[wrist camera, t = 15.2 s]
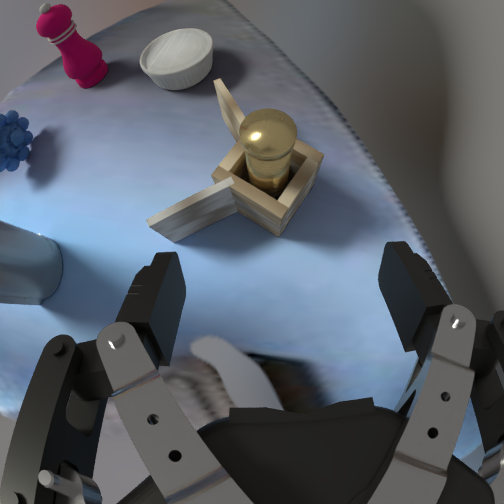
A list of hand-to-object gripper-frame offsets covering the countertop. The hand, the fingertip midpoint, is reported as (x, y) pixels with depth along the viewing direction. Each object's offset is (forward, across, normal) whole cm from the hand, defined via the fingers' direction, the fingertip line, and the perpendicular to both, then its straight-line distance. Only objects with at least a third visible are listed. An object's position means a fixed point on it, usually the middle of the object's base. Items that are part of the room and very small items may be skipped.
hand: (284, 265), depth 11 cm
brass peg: (+24, 0, -8) cm, 25 cm away
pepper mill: (+43, -30, +11) cm, 54 cm away
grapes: (+33, -41, +1) cm, 52 cm away
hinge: (+24, -4, -8) cm, 26 cm away
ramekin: (+40, -12, +8) cm, 43 cm away
